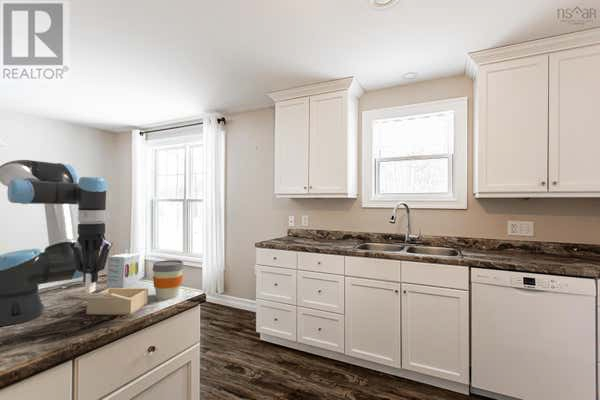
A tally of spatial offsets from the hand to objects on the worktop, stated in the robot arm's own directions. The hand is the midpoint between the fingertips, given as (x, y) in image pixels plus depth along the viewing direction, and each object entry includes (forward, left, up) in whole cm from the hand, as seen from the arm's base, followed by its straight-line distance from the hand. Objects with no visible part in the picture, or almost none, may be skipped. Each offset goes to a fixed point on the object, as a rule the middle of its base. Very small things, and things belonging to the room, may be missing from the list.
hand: (90, 291), depth 93 cm
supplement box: (-11, +36, -11) cm, 40 cm away
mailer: (+1, +14, -11) cm, 18 cm away
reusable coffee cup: (+13, +29, -11) cm, 34 cm away
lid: (+1, +2, -2) cm, 3 cm away
